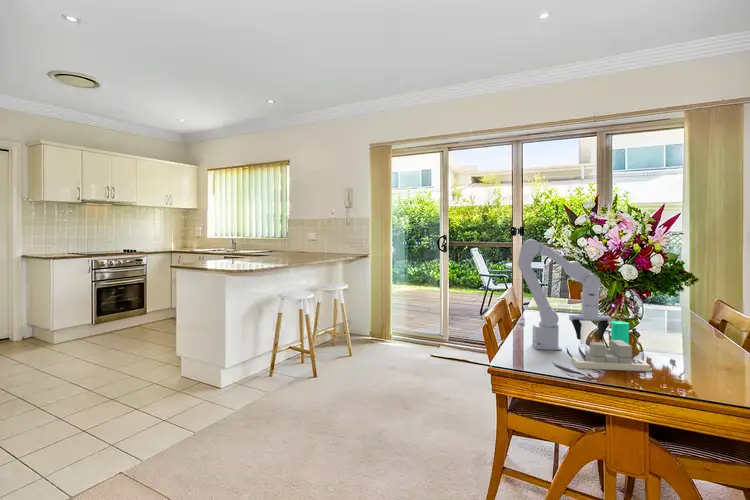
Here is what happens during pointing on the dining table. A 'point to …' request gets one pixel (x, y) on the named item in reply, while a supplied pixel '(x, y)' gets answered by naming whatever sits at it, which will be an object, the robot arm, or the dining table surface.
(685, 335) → the dining table surface
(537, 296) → the robot arm
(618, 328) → the candle
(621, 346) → the grey stepped blocky piece
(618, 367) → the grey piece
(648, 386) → the dining table surface
